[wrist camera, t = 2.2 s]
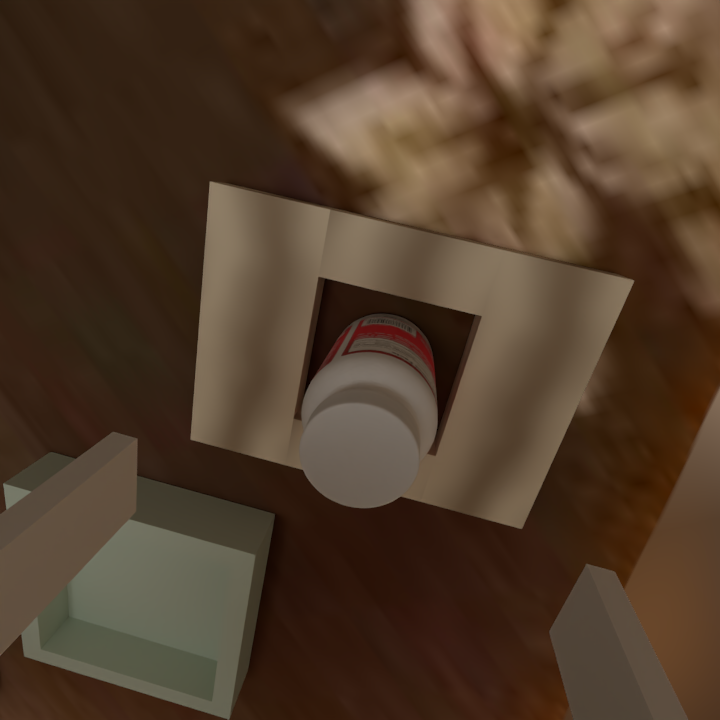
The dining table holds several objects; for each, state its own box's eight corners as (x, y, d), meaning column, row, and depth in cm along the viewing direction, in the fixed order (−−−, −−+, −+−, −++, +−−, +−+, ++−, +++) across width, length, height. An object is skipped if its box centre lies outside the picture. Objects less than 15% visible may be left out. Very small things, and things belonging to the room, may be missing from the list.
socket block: (205, 424, 30) (190, 439, 28) (226, 183, 24) (210, 181, 22) (515, 507, 29) (521, 528, 27) (617, 274, 23) (634, 280, 21)
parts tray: (61, 613, 40) (24, 656, 36) (50, 451, 33) (3, 483, 29) (248, 669, 38) (229, 719, 35) (275, 513, 32) (255, 555, 28)
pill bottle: (361, 417, 28) (325, 541, 18) (317, 336, 27) (249, 420, 16) (450, 382, 26) (466, 497, 16) (408, 293, 25) (396, 357, 15)
